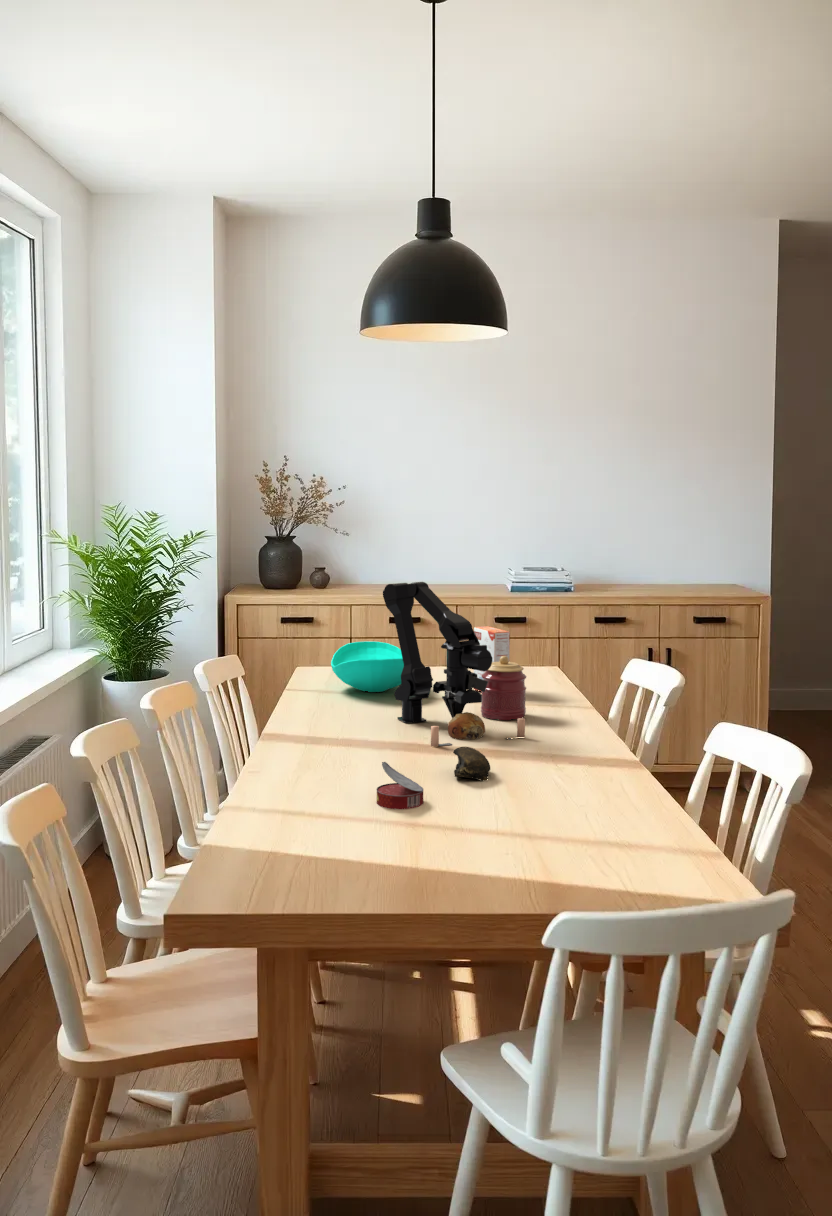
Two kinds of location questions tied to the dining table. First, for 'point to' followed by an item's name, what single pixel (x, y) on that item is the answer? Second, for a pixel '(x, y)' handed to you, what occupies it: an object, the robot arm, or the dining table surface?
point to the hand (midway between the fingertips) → (456, 723)
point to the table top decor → (369, 665)
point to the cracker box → (493, 643)
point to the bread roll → (466, 726)
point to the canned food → (399, 791)
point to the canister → (504, 691)
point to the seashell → (471, 764)
